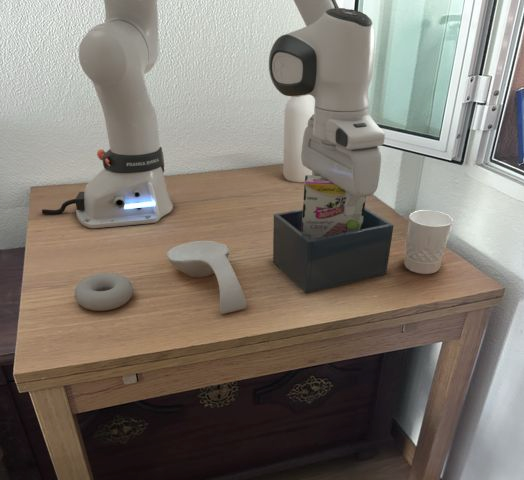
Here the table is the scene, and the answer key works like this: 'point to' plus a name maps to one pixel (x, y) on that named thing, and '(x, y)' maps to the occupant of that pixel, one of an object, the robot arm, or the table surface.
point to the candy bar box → (327, 209)
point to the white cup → (426, 240)
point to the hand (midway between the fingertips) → (333, 204)
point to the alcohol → (296, 136)
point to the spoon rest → (210, 269)
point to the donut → (103, 291)
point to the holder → (331, 252)
